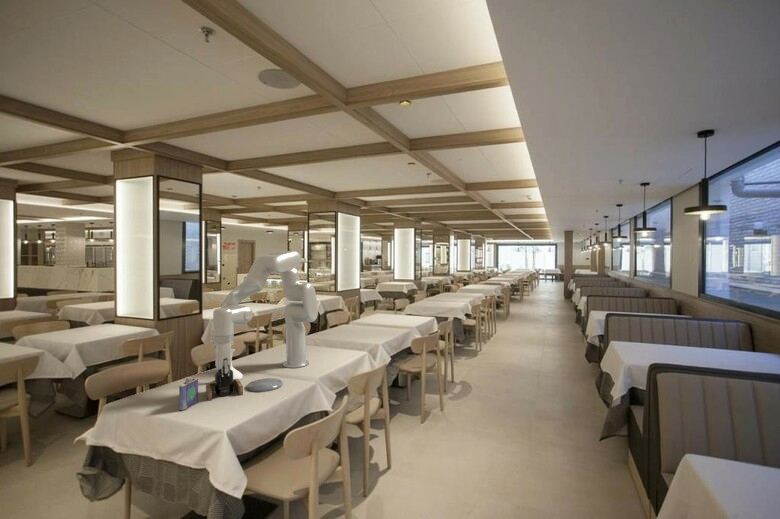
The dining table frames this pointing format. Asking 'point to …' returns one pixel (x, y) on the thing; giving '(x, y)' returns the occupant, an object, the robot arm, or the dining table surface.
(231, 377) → the supplement bottle
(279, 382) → the plate
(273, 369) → the dining table surface
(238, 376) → the flower in vase
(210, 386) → the brown wooden arch piece
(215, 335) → the robot arm
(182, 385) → the flask
